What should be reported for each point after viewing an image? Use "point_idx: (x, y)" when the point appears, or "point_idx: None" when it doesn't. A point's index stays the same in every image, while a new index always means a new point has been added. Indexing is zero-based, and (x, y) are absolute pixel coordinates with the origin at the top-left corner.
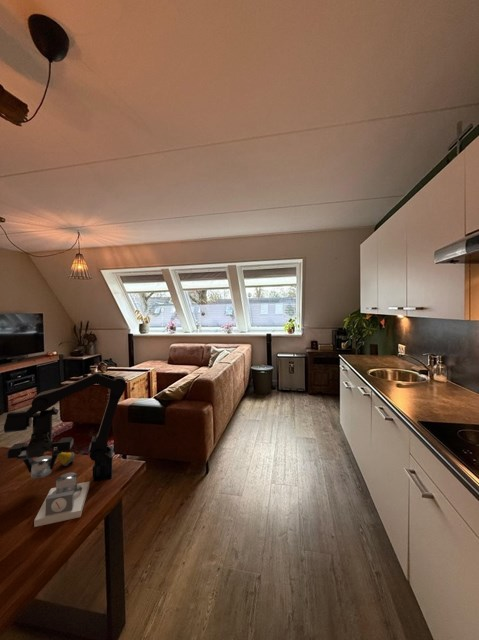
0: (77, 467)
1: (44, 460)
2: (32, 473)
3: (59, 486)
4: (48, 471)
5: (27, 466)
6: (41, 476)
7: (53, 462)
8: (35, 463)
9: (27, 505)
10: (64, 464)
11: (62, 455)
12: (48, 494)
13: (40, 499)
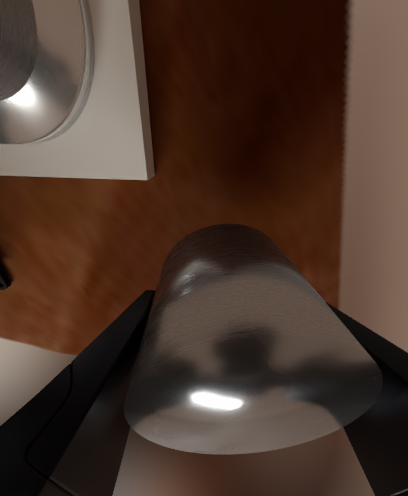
0: None
1: (208, 397)
2: (291, 262)
3: None
4: (164, 267)
5: (379, 340)
6: (209, 229)
7: (97, 344)
8: (333, 360)
9: (247, 99)
10: None
11: None
12: (134, 97)
13: (193, 139)
